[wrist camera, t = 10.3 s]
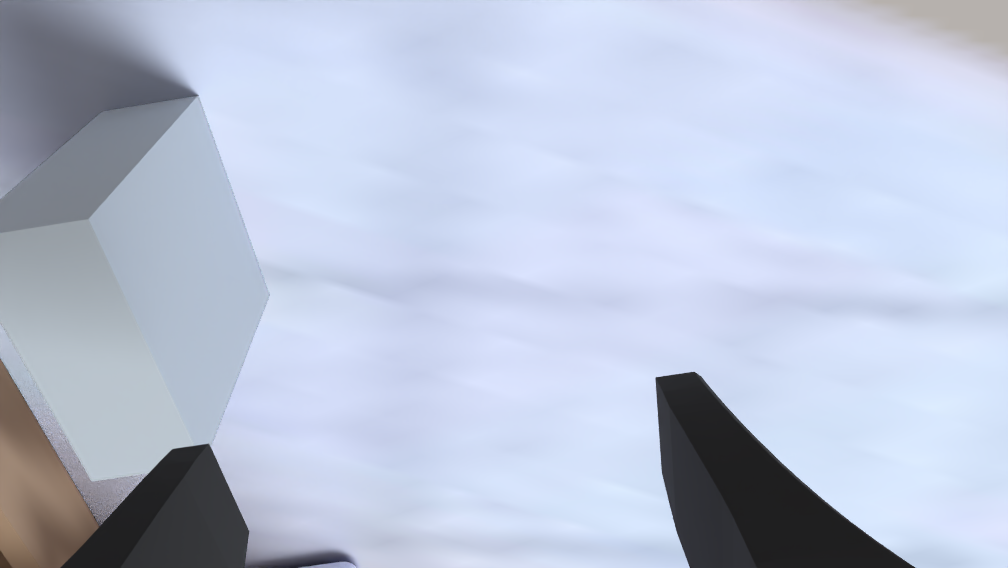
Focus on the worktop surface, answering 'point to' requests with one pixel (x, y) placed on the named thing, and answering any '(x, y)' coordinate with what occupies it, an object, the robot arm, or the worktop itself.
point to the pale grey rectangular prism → (131, 285)
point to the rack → (35, 491)
